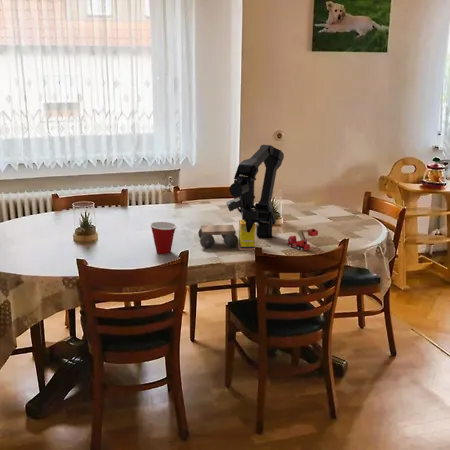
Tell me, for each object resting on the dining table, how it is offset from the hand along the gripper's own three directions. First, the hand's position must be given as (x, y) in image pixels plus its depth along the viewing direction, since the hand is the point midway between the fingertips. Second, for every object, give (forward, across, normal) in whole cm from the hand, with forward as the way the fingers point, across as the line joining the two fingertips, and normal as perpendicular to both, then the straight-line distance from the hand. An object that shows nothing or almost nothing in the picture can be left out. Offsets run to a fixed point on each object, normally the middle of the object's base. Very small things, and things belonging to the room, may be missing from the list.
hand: (246, 229), depth 228 cm
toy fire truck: (+8, +4, +23) cm, 25 cm away
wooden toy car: (+8, -6, -11) cm, 15 cm away
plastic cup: (+8, +3, -34) cm, 36 cm away
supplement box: (+8, 0, 0) cm, 8 cm away
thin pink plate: (+8, 0, 0) cm, 8 cm away
